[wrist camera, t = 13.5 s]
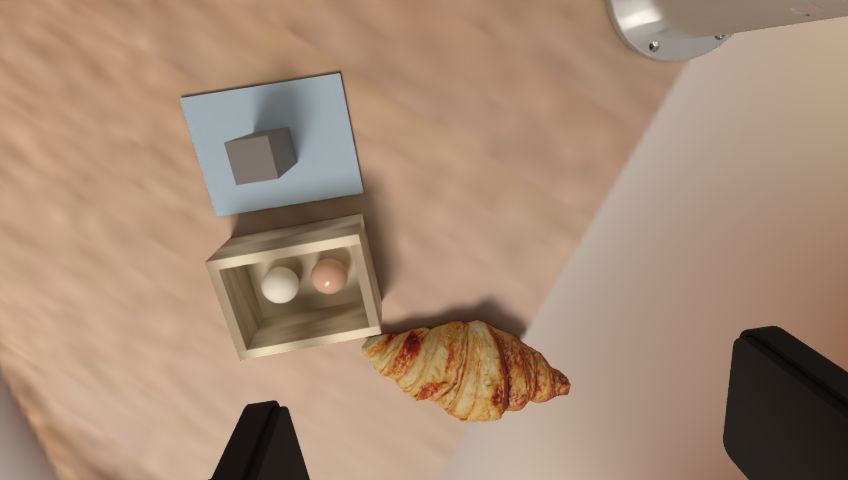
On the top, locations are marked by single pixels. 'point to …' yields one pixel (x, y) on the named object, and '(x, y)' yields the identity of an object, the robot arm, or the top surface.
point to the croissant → (466, 369)
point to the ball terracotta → (329, 276)
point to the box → (310, 309)
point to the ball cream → (280, 285)
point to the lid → (274, 144)
